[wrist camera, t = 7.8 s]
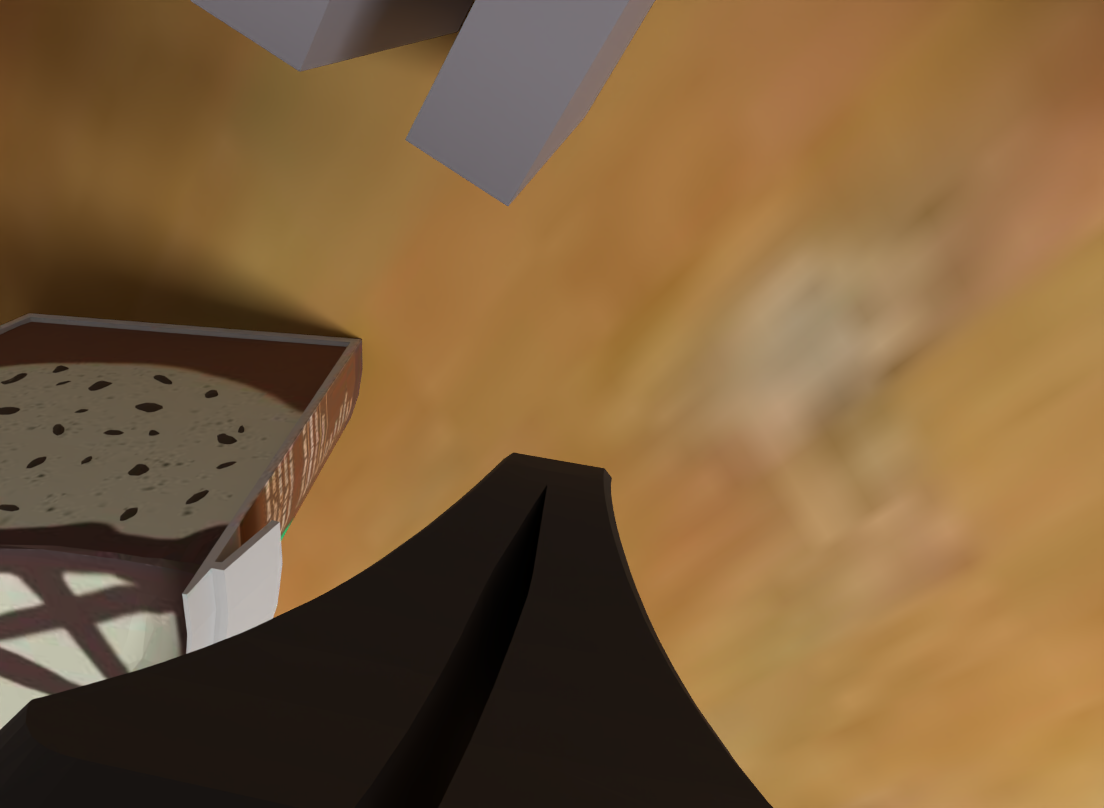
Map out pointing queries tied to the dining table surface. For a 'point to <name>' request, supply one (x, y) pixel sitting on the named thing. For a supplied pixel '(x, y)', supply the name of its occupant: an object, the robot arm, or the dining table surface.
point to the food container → (150, 487)
